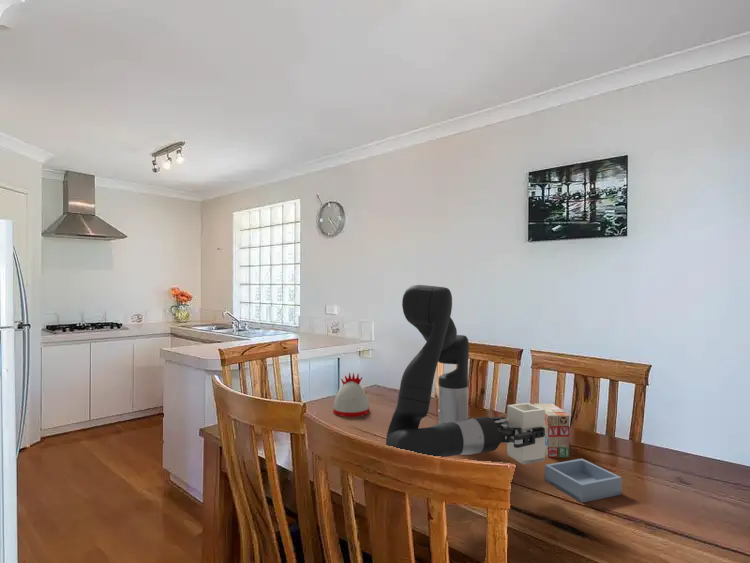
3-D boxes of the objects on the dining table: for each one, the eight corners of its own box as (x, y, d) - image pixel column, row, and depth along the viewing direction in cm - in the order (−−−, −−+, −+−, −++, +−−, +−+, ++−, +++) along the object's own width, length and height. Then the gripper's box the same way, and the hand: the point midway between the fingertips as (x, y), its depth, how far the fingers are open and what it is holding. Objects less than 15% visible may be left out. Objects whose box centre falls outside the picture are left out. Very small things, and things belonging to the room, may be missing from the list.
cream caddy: (523, 464, 102) (523, 412, 102) (507, 454, 108) (507, 405, 107) (544, 461, 104) (545, 409, 104) (527, 451, 110) (528, 402, 110)
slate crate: (581, 502, 101) (581, 485, 101) (544, 480, 113) (544, 464, 113) (621, 494, 105) (621, 477, 105) (582, 473, 117) (582, 458, 117)
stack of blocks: (523, 432, 149) (523, 395, 149) (542, 432, 149) (542, 395, 149) (547, 457, 128) (547, 414, 128) (569, 458, 128) (569, 414, 128)
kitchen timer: (368, 417, 166) (368, 376, 166) (331, 416, 167) (331, 376, 167) (369, 406, 180) (369, 369, 180) (335, 406, 180) (335, 369, 181)
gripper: (491, 429, 94) (556, 420, 100) (456, 410, 108) (515, 403, 113) (491, 464, 94) (556, 454, 100) (456, 441, 108) (515, 432, 113)
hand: (534, 427), depth 107 cm, fingers closed on cream caddy, 6 cm apart
